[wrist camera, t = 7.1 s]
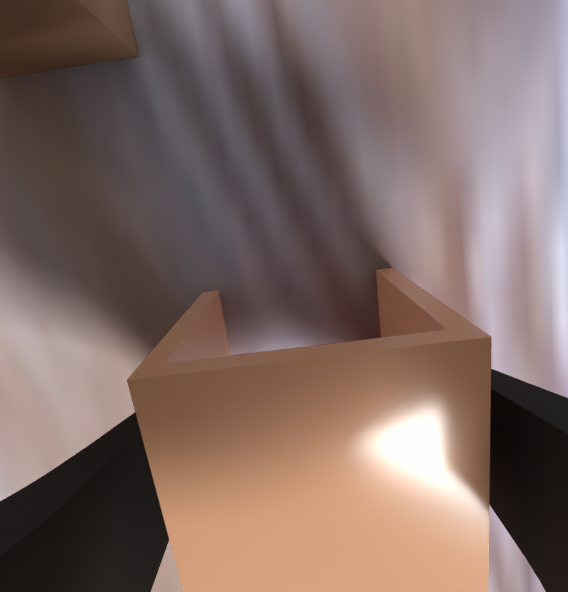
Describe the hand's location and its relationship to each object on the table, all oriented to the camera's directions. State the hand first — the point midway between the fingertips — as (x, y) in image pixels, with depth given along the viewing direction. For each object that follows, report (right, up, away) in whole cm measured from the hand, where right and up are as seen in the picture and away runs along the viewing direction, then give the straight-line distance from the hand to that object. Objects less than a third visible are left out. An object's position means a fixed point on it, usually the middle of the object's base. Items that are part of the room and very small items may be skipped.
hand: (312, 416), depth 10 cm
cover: (0, +1, +3) cm, 3 cm away
